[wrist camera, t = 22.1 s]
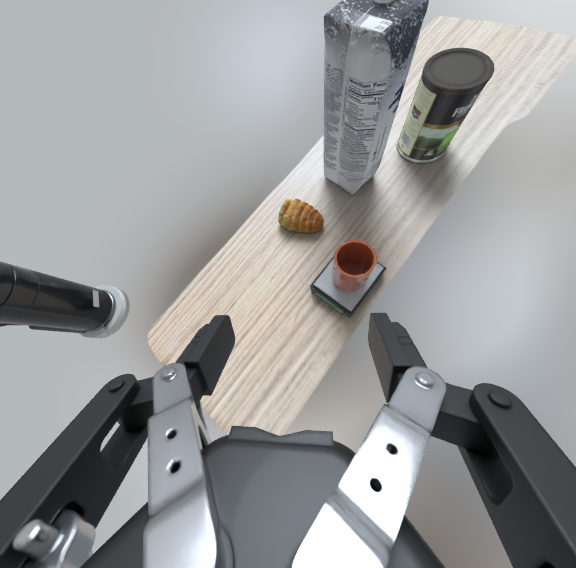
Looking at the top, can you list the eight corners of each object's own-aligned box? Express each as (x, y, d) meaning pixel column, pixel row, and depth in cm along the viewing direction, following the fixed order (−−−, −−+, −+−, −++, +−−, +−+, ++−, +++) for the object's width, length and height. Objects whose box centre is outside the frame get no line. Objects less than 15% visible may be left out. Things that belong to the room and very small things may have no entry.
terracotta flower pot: (346, 298, 38) (352, 285, 31) (325, 273, 40) (325, 255, 33) (373, 279, 38) (385, 261, 31) (350, 254, 40) (357, 232, 33)
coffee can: (456, 141, 48) (509, 59, 34) (425, 171, 46) (467, 98, 33) (416, 121, 51) (450, 39, 37) (386, 148, 50) (410, 74, 36)
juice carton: (353, 201, 47) (391, 22, 21) (317, 177, 50) (314, -4, 25) (380, 175, 48) (448, -27, 22) (344, 153, 51) (366, -45, 26)
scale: (348, 319, 40) (350, 316, 37) (309, 290, 42) (308, 286, 40) (383, 272, 41) (387, 266, 39) (343, 247, 44) (345, 240, 41)
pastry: (328, 215, 47) (329, 203, 43) (315, 241, 45) (315, 232, 42) (289, 202, 49) (287, 191, 46) (276, 227, 48) (272, 217, 44)
